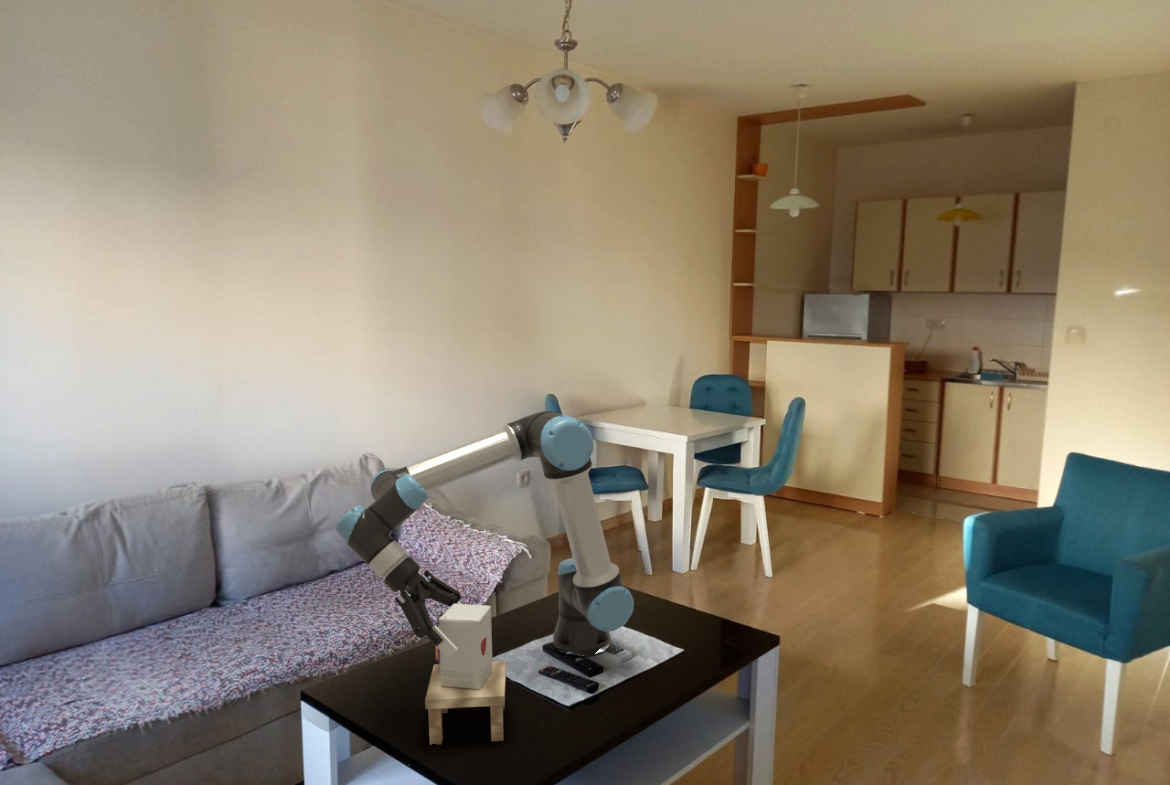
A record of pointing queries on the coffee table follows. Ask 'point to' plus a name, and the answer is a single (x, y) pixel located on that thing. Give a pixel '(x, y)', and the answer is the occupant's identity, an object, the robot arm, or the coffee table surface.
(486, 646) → the supplement box
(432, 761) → the coffee table surface
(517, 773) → the coffee table surface
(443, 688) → the low wooden platform
